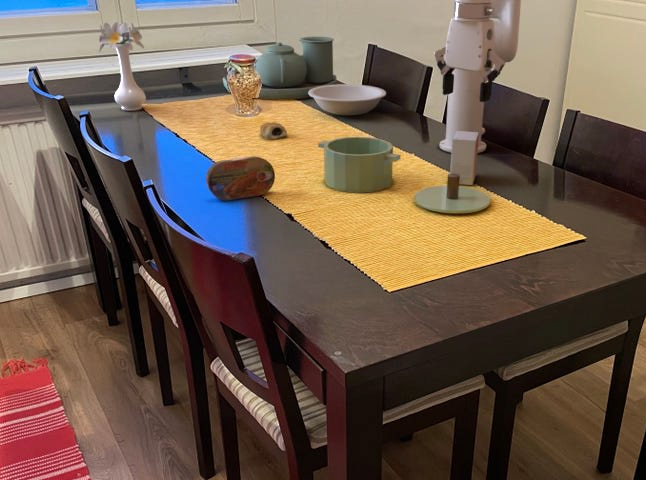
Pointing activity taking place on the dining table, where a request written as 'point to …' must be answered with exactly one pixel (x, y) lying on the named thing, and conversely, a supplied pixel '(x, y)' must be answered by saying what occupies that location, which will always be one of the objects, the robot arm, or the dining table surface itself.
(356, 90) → the soup bowl
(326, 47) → the tea set
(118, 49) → the flower vase
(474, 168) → the small box
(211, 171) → the tin
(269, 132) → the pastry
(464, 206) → the pot lid
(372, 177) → the casserole
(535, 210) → the dining table surface
